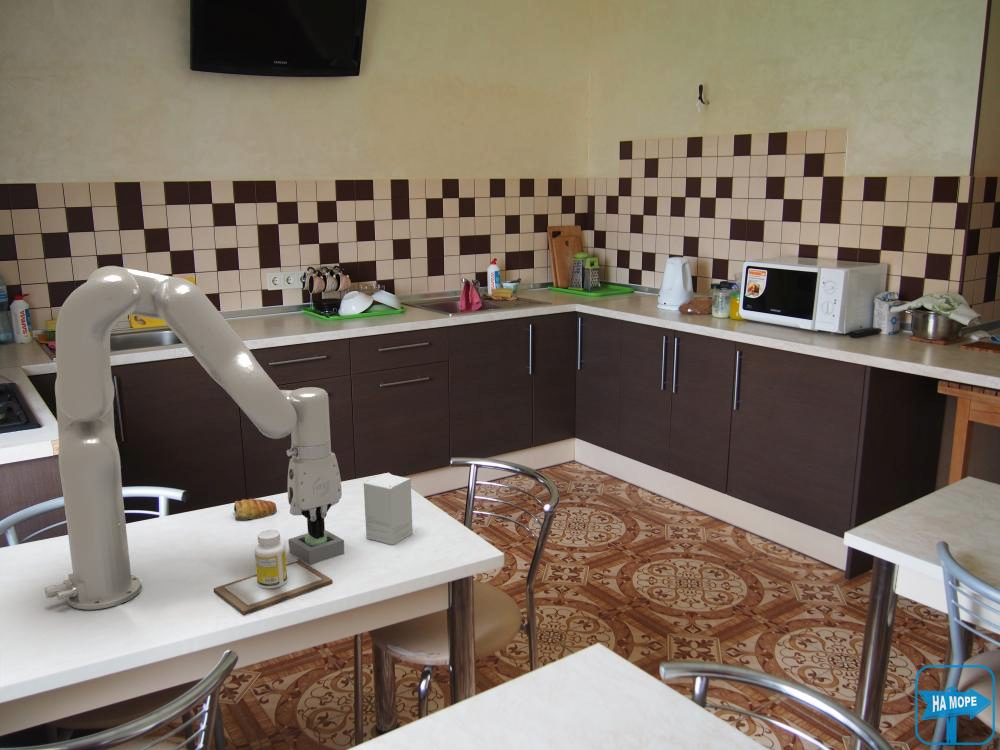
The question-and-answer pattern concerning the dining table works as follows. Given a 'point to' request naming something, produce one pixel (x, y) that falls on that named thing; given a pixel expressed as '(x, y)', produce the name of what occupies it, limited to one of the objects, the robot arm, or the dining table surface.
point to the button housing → (316, 548)
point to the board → (253, 597)
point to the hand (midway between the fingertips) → (316, 536)
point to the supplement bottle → (270, 560)
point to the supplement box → (388, 508)
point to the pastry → (253, 509)
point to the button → (315, 540)
